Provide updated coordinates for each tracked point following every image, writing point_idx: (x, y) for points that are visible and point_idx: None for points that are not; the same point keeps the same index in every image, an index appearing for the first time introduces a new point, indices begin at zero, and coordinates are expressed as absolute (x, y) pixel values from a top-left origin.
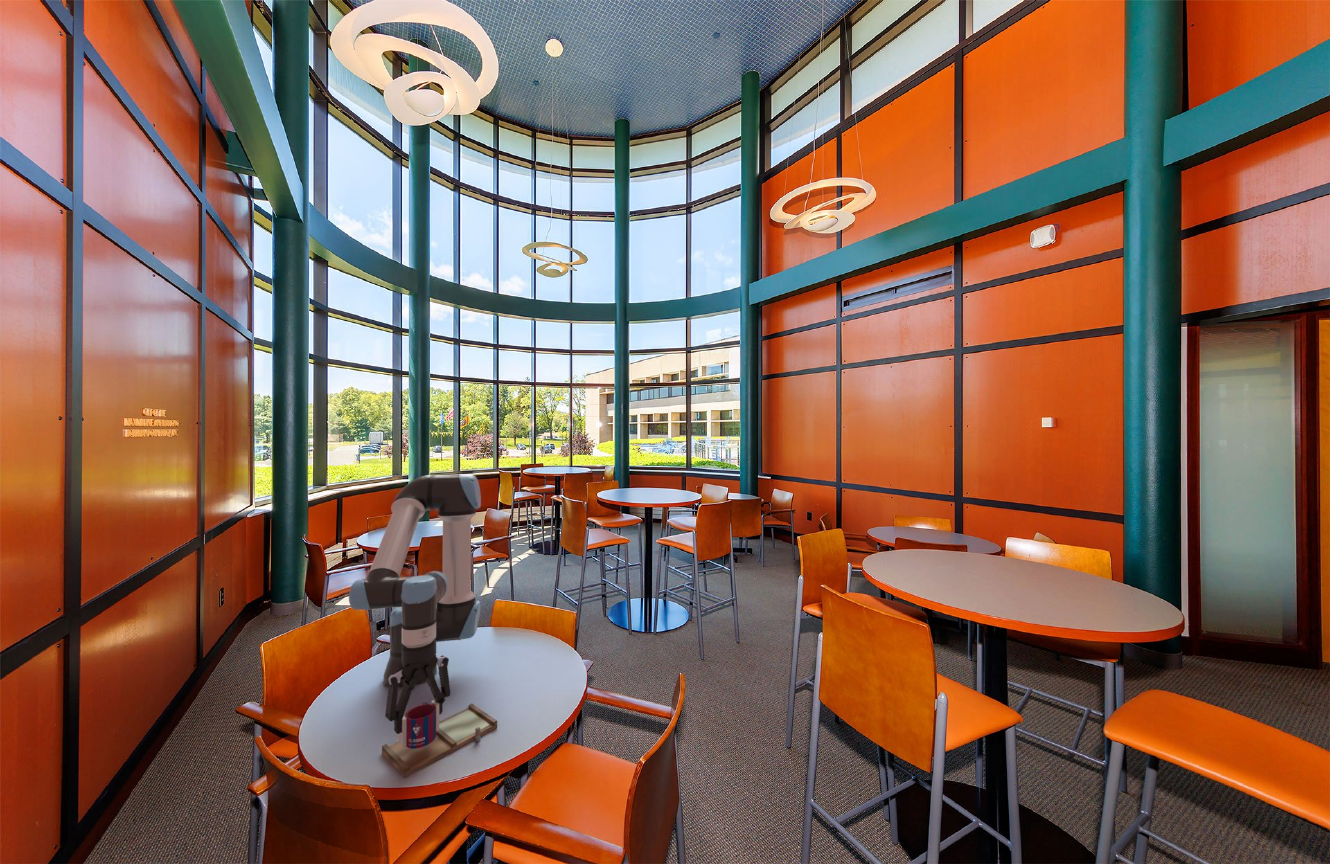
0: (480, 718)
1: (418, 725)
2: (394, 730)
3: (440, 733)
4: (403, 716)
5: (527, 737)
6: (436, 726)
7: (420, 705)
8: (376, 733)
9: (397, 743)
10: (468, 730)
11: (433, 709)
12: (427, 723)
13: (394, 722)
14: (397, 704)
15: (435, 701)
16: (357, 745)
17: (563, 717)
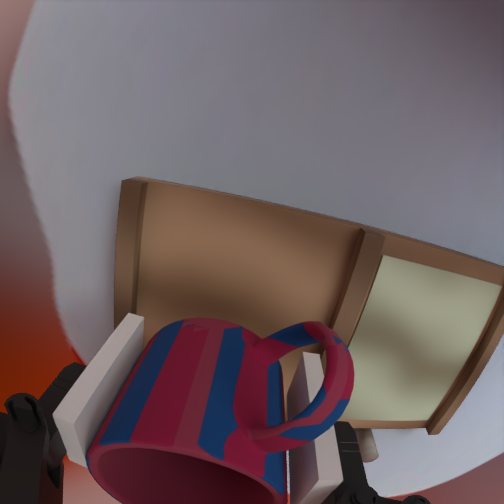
0: (457, 372)
1: (145, 483)
2: (65, 370)
3: (325, 353)
4: (77, 447)
5: (397, 480)
6: (287, 413)
7: (230, 465)
8: (219, 3)
9: (191, 205)
10: (386, 399)
11: (270, 496)
12: (188, 495)
13: (41, 399)
14: (2, 484)
15: (327, 493)
16: (125, 25)
17: (467, 470)
